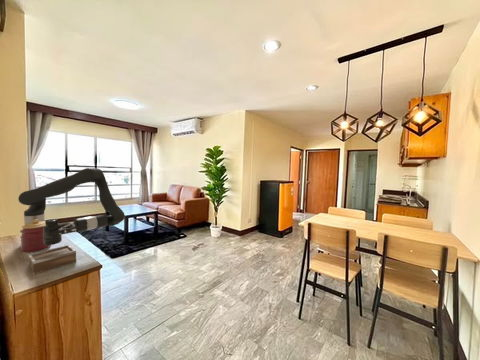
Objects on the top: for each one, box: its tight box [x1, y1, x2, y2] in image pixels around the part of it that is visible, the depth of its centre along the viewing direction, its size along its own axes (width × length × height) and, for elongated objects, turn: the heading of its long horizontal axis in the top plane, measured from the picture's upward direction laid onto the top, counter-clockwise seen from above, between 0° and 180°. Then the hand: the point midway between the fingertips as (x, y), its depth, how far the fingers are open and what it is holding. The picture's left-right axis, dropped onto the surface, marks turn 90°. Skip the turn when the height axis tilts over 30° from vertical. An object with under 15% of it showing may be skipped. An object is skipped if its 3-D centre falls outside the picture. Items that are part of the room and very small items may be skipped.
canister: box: [19, 219, 52, 253], centre depth 121 cm, size 13×13×18 cm
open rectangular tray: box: [27, 244, 77, 275], centre depth 104 cm, size 12×16×6 cm
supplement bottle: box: [43, 218, 63, 246], centre depth 103 cm, size 7×7×12 cm
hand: (46, 231), depth 101 cm, fingers closed on supplement bottle, 7 cm apart
